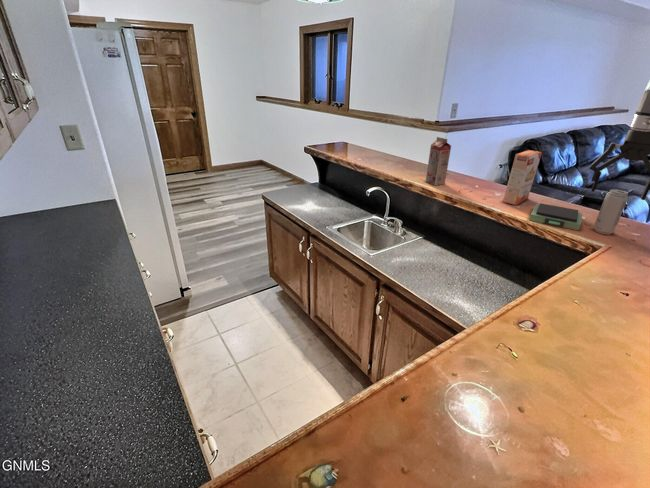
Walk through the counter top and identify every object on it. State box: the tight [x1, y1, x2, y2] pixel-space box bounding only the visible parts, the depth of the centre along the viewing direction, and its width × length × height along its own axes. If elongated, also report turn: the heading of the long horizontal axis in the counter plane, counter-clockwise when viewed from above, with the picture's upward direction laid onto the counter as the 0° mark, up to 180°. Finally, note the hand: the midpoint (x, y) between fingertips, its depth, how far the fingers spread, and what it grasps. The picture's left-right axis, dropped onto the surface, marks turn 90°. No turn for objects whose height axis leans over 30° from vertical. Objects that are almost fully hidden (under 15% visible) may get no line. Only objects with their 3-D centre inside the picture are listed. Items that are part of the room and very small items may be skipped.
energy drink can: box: [593, 188, 629, 236], centre depth 121 cm, size 6×6×15 cm
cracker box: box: [502, 149, 543, 206], centre depth 149 cm, size 14×6×21 cm, turn 132°
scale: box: [529, 204, 583, 231], centre depth 133 cm, size 16×15×2 cm
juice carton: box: [425, 136, 452, 186], centre depth 171 cm, size 7×7×22 cm
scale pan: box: [536, 202, 579, 222], centre depth 133 cm, size 13×12×1 cm
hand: (616, 194), depth 119 cm, fingers open, 13 cm apart
